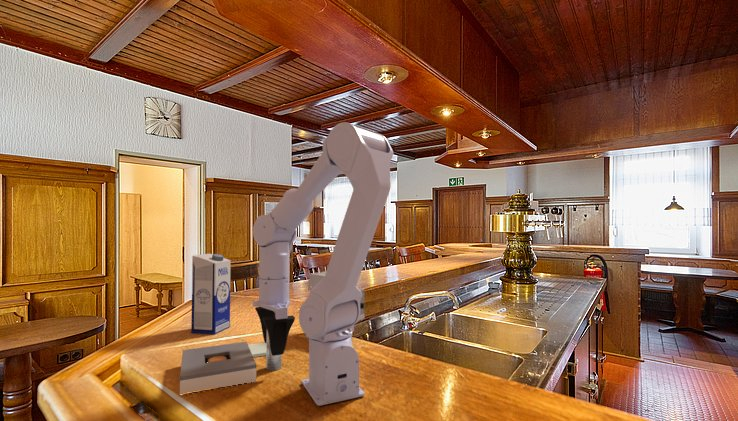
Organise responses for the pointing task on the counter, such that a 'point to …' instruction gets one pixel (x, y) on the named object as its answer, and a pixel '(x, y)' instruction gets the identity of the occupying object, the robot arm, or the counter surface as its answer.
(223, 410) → the counter surface
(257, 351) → the pad
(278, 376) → the counter surface
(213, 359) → the plunger
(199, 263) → the milk carton
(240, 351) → the box
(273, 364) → the shiny metal cylinder
